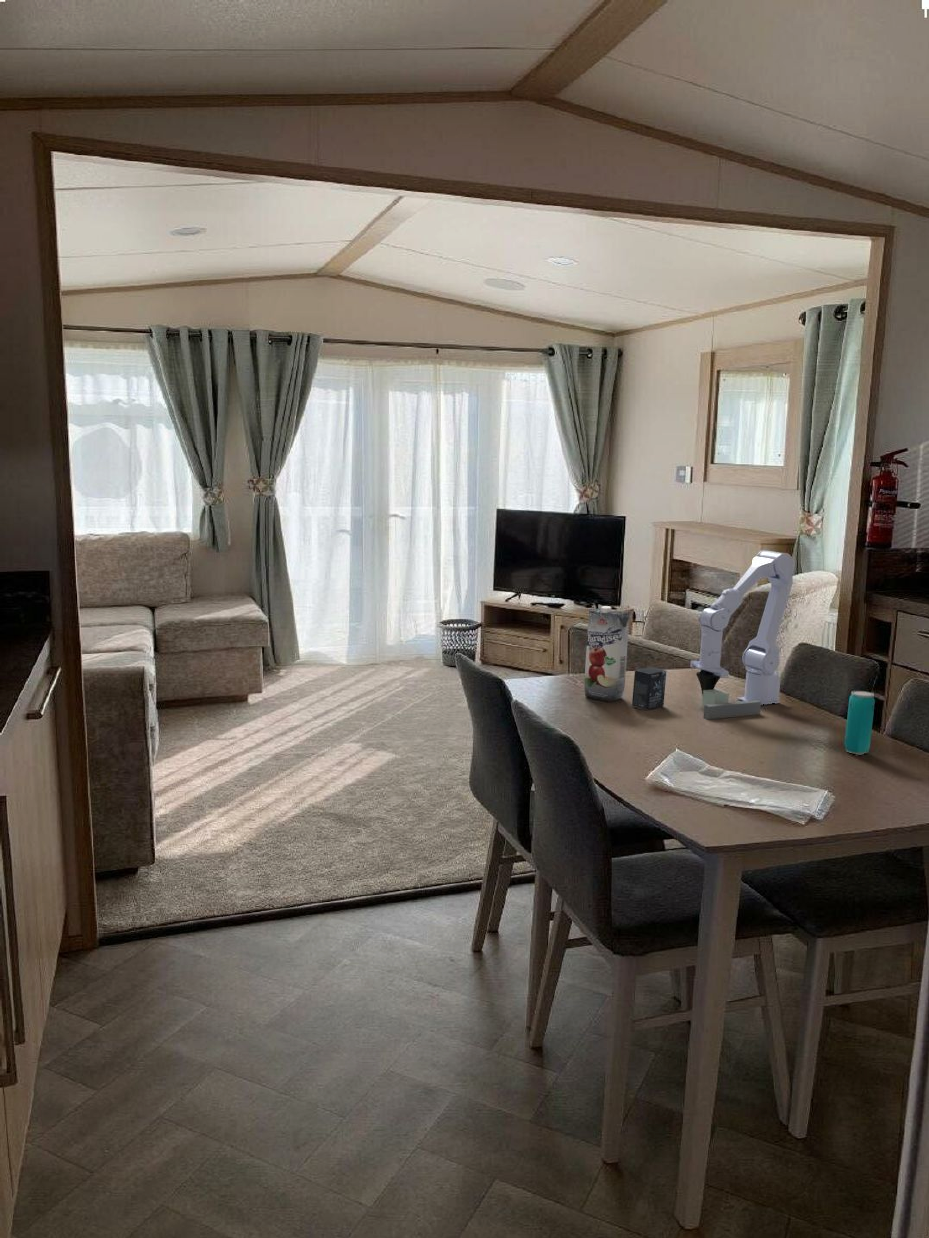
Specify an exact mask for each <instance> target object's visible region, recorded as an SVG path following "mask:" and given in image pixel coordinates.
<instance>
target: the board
mask: <svg viewBox="0 0 929 1238" xmlns="http://www.w3.org/2000/svg"><path fill="white" fill-rule="evenodd" d="M761 706H762V705H761V702H760V701H757V700H752V701H742V700H740V701H733V702H732V701H731V702H728V703H719V704H708V705H704V708H703V716H702V717H703V718H704V719H707V720H713V719H725V718H733V717H744V716H753V715H760V714H761V708H762V707H761Z"/></svg>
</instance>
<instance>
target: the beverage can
mask: <svg viewBox="0 0 929 1238" xmlns="http://www.w3.org/2000/svg"><path fill="white" fill-rule="evenodd" d="M874 697H875V694H874V693H873V692H869V691H865V690H853V691H851V694H850V696H849V700H848V706H847V707H848V710H847V718H846V727H845V737H844V747H845V751H846V752H849V753H856V754H864V753H867V754H868V752H869V750H870V748H871V739H872V731H873V730H872V728H873V722H874V710H875V702H876V700H875V698H874ZM849 753H848V754H849Z"/></svg>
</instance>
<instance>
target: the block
mask: <svg viewBox="0 0 929 1238" xmlns="http://www.w3.org/2000/svg"><path fill="white" fill-rule="evenodd" d="M729 698H730V693H729V692H727V691H724V690H721V689H718V688H716V689H715V688H714V689H712V690H703V696H702V702H701V708H702V709H704V705H708V704H719V703H729V700H730V699H729Z"/></svg>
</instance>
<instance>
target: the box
mask: <svg viewBox="0 0 929 1238" xmlns="http://www.w3.org/2000/svg"><path fill="white" fill-rule="evenodd" d="M666 679H667V670H665V669H662V668H657V667H652V666H649V667H645V668H640V669H634V677H633V687H632V688H633V689H632V701H631V706H632V707H634V708H637V709H641V710H646V711H649V710H652V709H656V708H660V707H661V708H662V707H664V703H665V692H666V691H665V690H666Z"/></svg>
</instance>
